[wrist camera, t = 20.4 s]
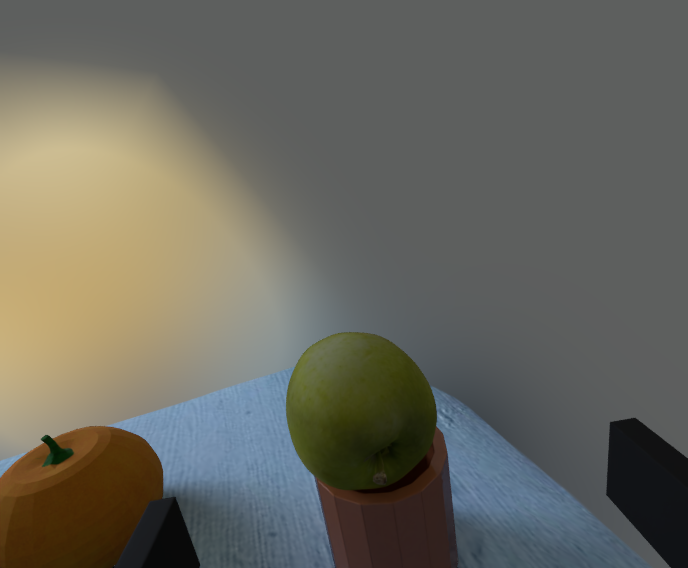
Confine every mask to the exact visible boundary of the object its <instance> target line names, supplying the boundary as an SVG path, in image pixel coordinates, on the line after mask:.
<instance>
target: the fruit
mask: <svg viewBox="0 0 688 568" xmlns="http://www.w3.org/2000/svg"><path fill="white" fill-rule="evenodd" d="M41 440H42V441H43V442H44V443H43V444H41V445H40V446H38V447H36V448H35V449H33V450H31V451H30V452H28V453H27V454H25V455H24V456H23V457H21V458H20V459H19V460H17V461H16V462H15V463H14V464H13V465H12V466H11V467H10V468H9V469H8V470H7V471H6V472H5V473H4V474H3V475H2V477H1V478H0V568H112V567H113V566H114V565H116V563H117V562H118V560H119V558H120V556H121V554H122V552H123V550H124V549H125V547H126V545H127V543H128V541H129V539H130V537H131V535H132V534H133V532H134V530H135V528H136V526H137V524H138V522H139V521H140V519H141V517H142V515H143V513H144V511H145V509H146V507H147V506H148V504H149V502H150V501H154V500H160V499H162V497H163V469H162V465H161V462H160V460H159V458H158V456H157V454H156V453H155V452H154V450H153V449H152V447H151V446H150V445H149V444H148V442H147V441H146V440H145V439H143V438H142V437H140V436H139V435H136V434H133V433H131V432H128V431H125V430H122V429H119V428H114V427H105V426H90V427H85V428H80V429H76V430H73V431H70V432H67V433H65V434H62V435H60V436H58V437H55V438H53V439H52V438H51V437H50V436H48V435H45V436H44V437H42V439H41Z"/></svg>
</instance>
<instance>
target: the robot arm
mask: <svg viewBox="0 0 688 568" xmlns="http://www.w3.org/2000/svg"><path fill="white" fill-rule="evenodd" d="M609 435H610V436H609V453H608V472H607V494H606V495H607V496H608V497H609V498H610V499H611V501H612V502H613V503H614V504H615V505H616V506H617V507H618V508H619V510H620V511H621V512H622V513H623V514H624V515H625V516H626V517H627V519H629V521H630V522H631V523H632V524H633V525H634V526H635V528H636V529H637V530H638V531H639V532H640V533H641V534H642V536H643V537H644V538H645V539H646V540H647V541H648V542H649V543H650V545H652V547H653V548H654V549H655V550H656V551H657V552H658V554H659V555H660V556H661V557H662V558H663V559H664V560H665V561H666V563H667V564H668V565H669V566H670V567H671V568H688V458H686V457H685V456H684V455H682V454H681V453H680V452H679V451H677V450H676V449H675V448H674V447H672V446H671V445H670V444H668V443H667V442H666V441H664V440H663V439H662V438H661V437H659V436H658V435H657V434H656V433H654V432H653V431H652V430H650V429H649V428H648V427H647V426H645V425H644V424H643V423H641V422H640V421H639V420H637V419H636V418H631V419H625V420H619V421H614V422H610V434H609ZM199 567H200V563H199V560H198V557H197V555H196V552H195V549H194V546H193V544H192V541H191V538H190V535H189V533H188V530H187V527H186V525H185V522H184V519H183V516H182V514H181V511H180V508H179V505H178V503H177V500H176V497H171V498H166V499H160V500H154V501H150V502H149V504H148V506H147V507H146V509H145V511H144V513H143V515H142V517H141V519H140V521H139V522H138V524H137V526H136V528H135V530H134V532H133V534H132V535H131V537H130V539H129V541H128V543H127V545H126V547H125V549H124V550H123V552H122V554H121V556H120V558H119V560H118V562H117V563H116V565H115V567H114V568H199Z"/></svg>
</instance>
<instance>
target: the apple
mask: <svg viewBox="0 0 688 568" xmlns="http://www.w3.org/2000/svg"><path fill="white" fill-rule="evenodd" d="M286 416H287V422H288V427H289V431H290V435H291V439H292V442H293V445H294V447H295V450H296V452H297V454H298V456H299V457H300V459H301V461H302V462H303V464H304V465H305V467H306V468H307V469H308V470H309V471H310V472H311V473H312V474H313V475H314V476H315V477H317V478H318V479H319V480H321V481H322V482H324V483H325V484H327V485H329V486H332V487H334V488H337V489H341V490H361V489H377V488H382V487H386V486H388V485H391V484H393V483H395V482H397V481H398V480H400V479H401V478H402V477H404V476H405V475H406V474H407V473H408V472H409V471H410V470H412V469H413V468H414V467H415V466H416V465H417V464H418V463H419V462H420V461H421V460H422V459H423V457H424V456H425V455H426V454H427V452H428V451H429V448H430V446H431V444H432V442H433V438H434V435H435V430H436V423H437V411H436V404H435V399H434V396H433V393H432V390H431V388H430V385H429V383H428V381H427V380H426V378H425V376H424V374H423V373H422V372H421V370H420V369H419V367H418V366H417V365H416V364H415V362H414V361H413V360H412V359H411V358H410V357H409V356H408V355H407V354H406V353H405V352H404V351H402V350H401V349H400V348H399V347H397V346H396V345H395V344H393V343H392V342H390V341H389V340H387V339H385V338H383V337H381V336H378V335H374V334H368V333H358V332H349V333H348V332H346V333H338V334H334V335H331V336H329V337H327V338H325V339H322V340H320V341H318V342H317V343H315V344H313V345H312V346H310V347H309V348H308V349H307V350H306V351H305V352H304V353H303V355H302V356H301V358H300V359H299V361H298V363H297V365H296V367H295V369H294V371H293V373H292V376H291V378H290V382H289V385H288V390H287V397H286Z"/></svg>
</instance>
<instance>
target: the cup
mask: <svg viewBox="0 0 688 568" xmlns="http://www.w3.org/2000/svg"><path fill="white" fill-rule="evenodd" d="M314 478H315V482H316V487H317V491H318V495H319V500H320V504H321V509H322V513H323V517H324V522H325V526H326V530H327V535H328V539H329V544H330V548H331V552H332V557H333V561H334V566H335V568H458V554H457V544H456V534H455V524H454V514H453V504H452V494H451V484H450V474H449V463H448V453H447V448H446V444H445V440H444V436H443V433H442V432H441V431H440V430H439V429H438V428H437V426H436V430H435V435H434V438H433V442H432V444H431V446H430V448H429V451H428V452H427V454H426V455H425V456H424V457H423V459H422V460H421V461H420V462H419V463H418V464H417V465H416V466H415V467H414V468H413V469H412V470H410V471H409V472H408V473H407V474H406V475H405V476H404V477H402V478H401V479H400V480H398V481H397V482H395V483H393V484H391V485H388V486H386V487H382V488H377V489H361V490H341V489H337V488H334V487H332V486H329V485H327V484H325V483H324V482H322V481H321V480H319V479H318V478H317V477H315V476H314Z"/></svg>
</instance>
